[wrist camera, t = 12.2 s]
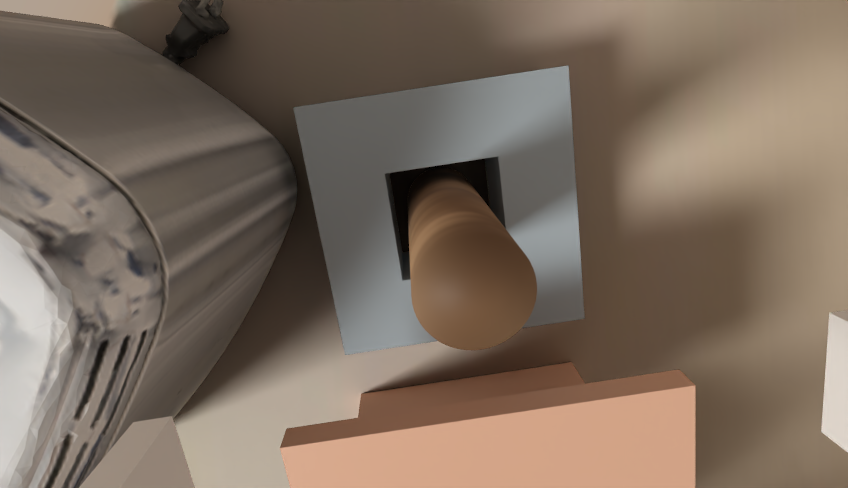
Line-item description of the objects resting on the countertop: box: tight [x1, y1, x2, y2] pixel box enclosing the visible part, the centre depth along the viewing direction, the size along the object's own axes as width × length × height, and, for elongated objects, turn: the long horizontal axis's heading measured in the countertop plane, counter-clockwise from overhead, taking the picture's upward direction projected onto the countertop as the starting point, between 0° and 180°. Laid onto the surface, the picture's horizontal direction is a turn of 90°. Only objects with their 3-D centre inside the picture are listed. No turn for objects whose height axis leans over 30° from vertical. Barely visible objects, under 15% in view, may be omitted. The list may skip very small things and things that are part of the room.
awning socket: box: [280, 66, 695, 488], centre depth 26 cm, size 16×20×13 cm
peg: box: [407, 167, 537, 350], centre depth 24 cm, size 4×4×15 cm
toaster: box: [0, 0, 297, 488], centre depth 22 cm, size 17×30×19 cm, turn 144°
